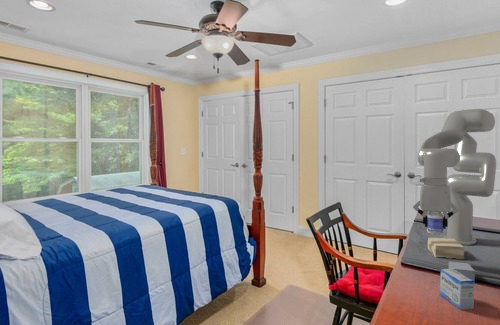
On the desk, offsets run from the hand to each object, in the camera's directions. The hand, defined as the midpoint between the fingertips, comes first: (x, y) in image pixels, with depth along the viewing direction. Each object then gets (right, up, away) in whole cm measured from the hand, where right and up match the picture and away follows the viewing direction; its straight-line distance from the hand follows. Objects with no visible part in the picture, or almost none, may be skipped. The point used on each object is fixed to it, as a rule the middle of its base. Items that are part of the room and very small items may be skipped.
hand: (435, 226), depth 111 cm
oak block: (+10, -13, +8) cm, 19 cm away
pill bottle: (0, -3, 0) cm, 3 cm away
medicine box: (-11, -17, -26) cm, 33 cm away
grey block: (+2, -15, -11) cm, 19 cm away
